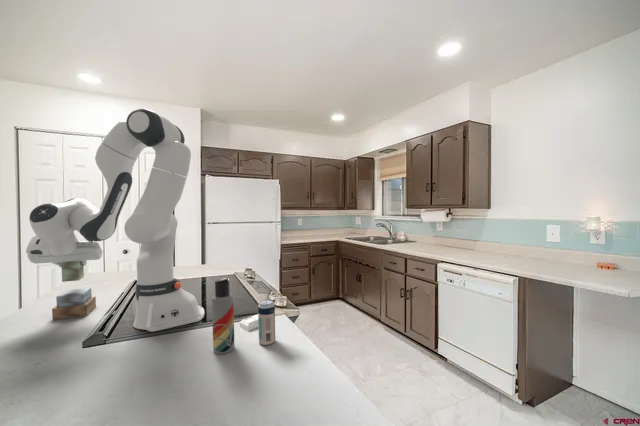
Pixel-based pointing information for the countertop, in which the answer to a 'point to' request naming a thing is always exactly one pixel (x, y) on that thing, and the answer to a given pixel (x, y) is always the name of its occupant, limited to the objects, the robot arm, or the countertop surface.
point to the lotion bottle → (223, 318)
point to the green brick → (72, 271)
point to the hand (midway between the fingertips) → (73, 265)
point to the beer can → (266, 322)
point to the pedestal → (74, 303)
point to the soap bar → (249, 323)
